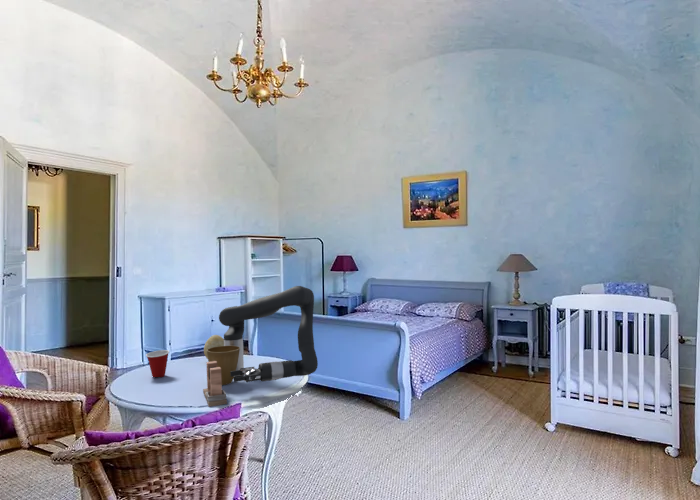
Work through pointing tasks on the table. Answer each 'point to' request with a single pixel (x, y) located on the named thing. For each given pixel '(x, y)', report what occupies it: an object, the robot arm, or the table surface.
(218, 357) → the plant pot
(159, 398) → the table surface
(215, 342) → the fossilized egg
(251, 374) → the robot arm
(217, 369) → the tall copper pillar
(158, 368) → the plastic cup
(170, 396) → the table surface
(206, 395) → the gravestone
